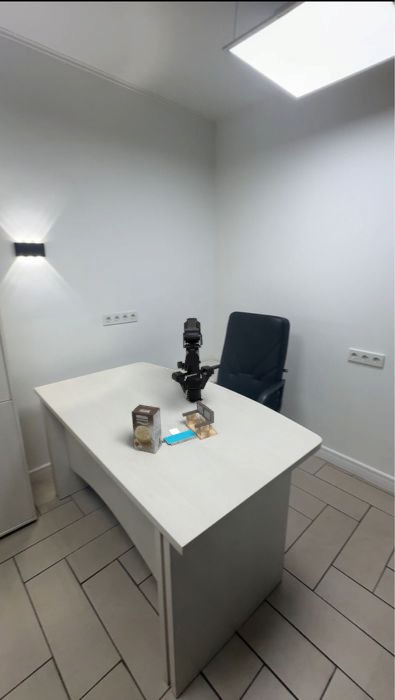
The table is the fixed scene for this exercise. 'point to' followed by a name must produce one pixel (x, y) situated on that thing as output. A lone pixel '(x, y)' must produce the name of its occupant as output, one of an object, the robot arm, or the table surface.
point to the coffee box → (147, 428)
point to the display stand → (201, 431)
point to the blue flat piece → (179, 436)
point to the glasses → (202, 414)
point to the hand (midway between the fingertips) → (193, 391)
